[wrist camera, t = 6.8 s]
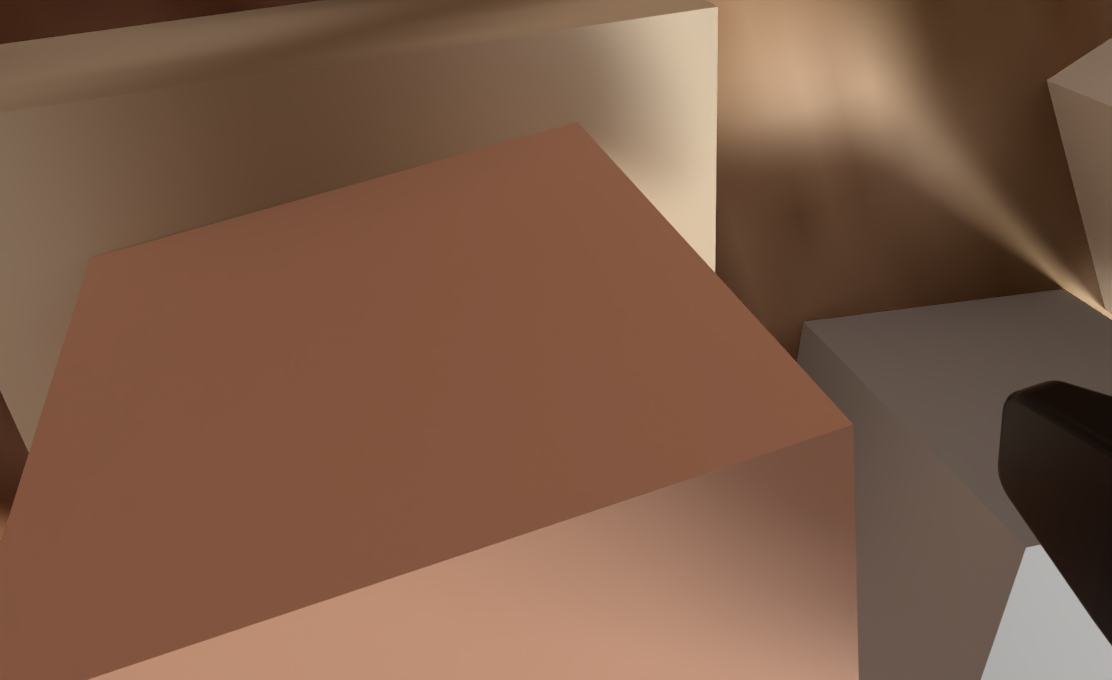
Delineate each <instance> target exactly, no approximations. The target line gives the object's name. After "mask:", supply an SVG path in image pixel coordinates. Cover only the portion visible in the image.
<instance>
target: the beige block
mask: <svg viewBox="0 0 1112 680" xmlns="http://www.w3.org/2000/svg"><path fill="white" fill-rule="evenodd" d="M717 52H718V6H716V5H714V4H712V3H710V2H708V1H706V0H320V1H313V2H306V3H298V4H291V5H284V6H276V7H269V8H262V9H254V10H247V11H240V12H233V13H225V14H218V15H211V16H203V17H196V18H189V19H181V20H174V21H167V22H159V23H152V24H145V25H138V26H130V27H123V28H116V29H108V30H101V31H94V32H86V33H79V34H72V35H64V36H57V37H50V38H42V39H35V40H28V41H21V42H13V43H6V44H0V391H1V393H2V396H3V398H4V400H5V402H6V404H7V407H8V409H9V411H10V413H11V415H12V417H13V420H14V422H15V424H16V426H17V428H18V431H19V433H20V435H21V437H22V439H23V441H24V444H25V446H26V448H27V450H28V452H29V451H30V448H31V445H32V441H33V438H34V435H35V432H36V429H37V425H38V422H39V419H40V416H41V413H42V409H43V406H44V403H45V400H46V397H47V394H48V390H49V387H50V384H51V381H52V378H53V374H54V371H55V368H56V365H57V362H58V359H59V355H60V352H61V349H62V346H63V343H64V339H65V336H66V333H67V330H68V327H69V324H70V320H71V317H72V314H73V311H74V308H75V304H76V301H77V298H78V295H79V292H80V289H81V285H82V282H83V279H84V276H85V273H86V269H87V266H88V263H89V260H90V258H92V257H96V256H99V255H103V254H107V253H110V252H114V251H117V250H121V249H124V248H128V247H132V246H135V245H139V244H142V243H146V242H149V241H153V240H157V239H160V238H164V237H167V236H171V235H174V234H178V233H182V232H185V231H189V230H192V229H196V228H199V227H203V226H207V225H210V224H214V223H217V222H221V221H224V220H228V219H232V218H235V217H239V216H242V215H246V214H249V213H253V212H257V211H260V210H264V209H267V208H271V207H274V206H278V205H282V204H285V203H289V202H292V201H296V200H299V199H303V198H307V197H310V196H314V195H317V194H321V193H324V192H328V191H332V190H335V189H339V188H342V187H346V186H349V185H353V184H357V183H360V182H364V181H367V180H371V179H374V178H378V177H382V176H385V175H389V174H392V173H396V172H399V171H403V170H407V169H410V168H414V167H417V166H421V165H424V164H428V163H432V162H435V161H439V160H442V159H446V158H449V157H453V156H457V155H460V154H464V153H467V152H471V151H474V150H478V149H482V148H485V147H489V146H492V145H496V144H500V143H503V142H507V141H510V140H514V139H518V138H521V137H525V136H528V135H532V134H535V133H539V132H543V131H546V130H550V129H553V128H557V127H561V126H564V125H568V124H571V123H575V122H578V123H579V124H580V125H581V126H582V127H583V128H584V129H585V131H586V132H587V133H588V134H589V135H590V136H591V137H592V138H593V139H594V140H595V142H596V143H597V144H598V145H599V146H600V147H601V148H602V149H603V150H604V151H605V152H606V154H607V155H608V156H609V157H610V158H611V159H612V160H613V161H614V162H615V163H616V165H617V166H618V167H619V168H620V169H621V170H622V171H623V172H624V173H625V174H626V176H627V177H628V178H629V179H630V180H631V181H632V182H633V183H634V184H635V185H636V187H637V188H638V189H639V190H640V191H641V192H642V193H643V194H644V195H645V196H646V197H647V199H648V200H649V201H650V202H651V203H652V204H653V205H654V206H655V207H656V208H657V210H658V211H659V212H660V213H661V214H662V215H663V216H664V217H665V218H666V219H667V221H668V222H669V223H670V224H671V225H672V226H673V227H674V228H675V229H676V230H677V232H678V233H679V234H680V235H681V236H682V237H683V238H684V239H685V240H686V241H687V243H688V244H689V245H690V246H691V247H692V248H693V249H694V250H695V251H696V252H697V253H698V255H699V256H700V257H701V258H702V259H703V260H704V261H705V262H706V263H707V264H708V266H709V267H710V268H711V269H712V270H713V271H714V272H715V247H716V150H717Z"/></svg>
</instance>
